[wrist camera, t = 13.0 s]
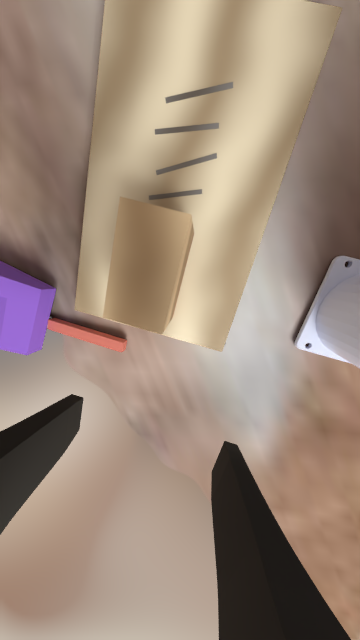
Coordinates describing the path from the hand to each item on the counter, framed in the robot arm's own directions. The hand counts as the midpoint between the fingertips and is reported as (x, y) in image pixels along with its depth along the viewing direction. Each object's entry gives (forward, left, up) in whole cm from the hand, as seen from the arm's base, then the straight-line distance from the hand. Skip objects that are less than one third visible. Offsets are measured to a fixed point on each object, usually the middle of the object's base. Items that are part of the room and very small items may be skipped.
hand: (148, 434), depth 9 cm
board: (+3, -13, -9) cm, 16 cm away
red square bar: (+9, 0, -9) cm, 13 cm away
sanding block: (+3, -7, -8) cm, 11 cm away
